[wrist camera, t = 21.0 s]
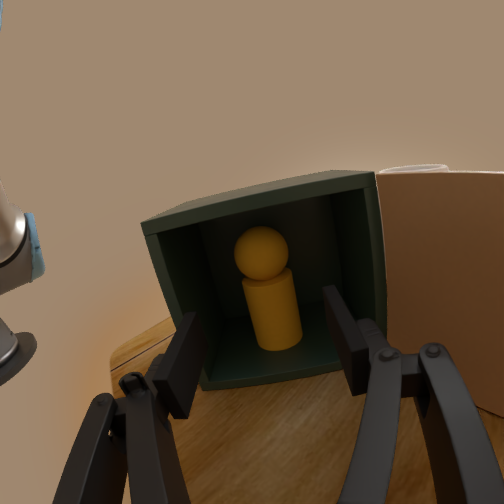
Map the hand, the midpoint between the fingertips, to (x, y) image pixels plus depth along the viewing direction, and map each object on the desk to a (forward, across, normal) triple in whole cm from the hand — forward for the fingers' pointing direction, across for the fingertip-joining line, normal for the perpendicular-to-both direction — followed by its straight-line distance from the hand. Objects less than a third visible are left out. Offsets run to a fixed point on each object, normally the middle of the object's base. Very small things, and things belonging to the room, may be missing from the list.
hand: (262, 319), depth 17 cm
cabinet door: (-4, +15, -7) cm, 17 cm away
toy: (+8, 0, -7) cm, 10 cm away
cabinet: (+9, +1, -8) cm, 12 cm away
